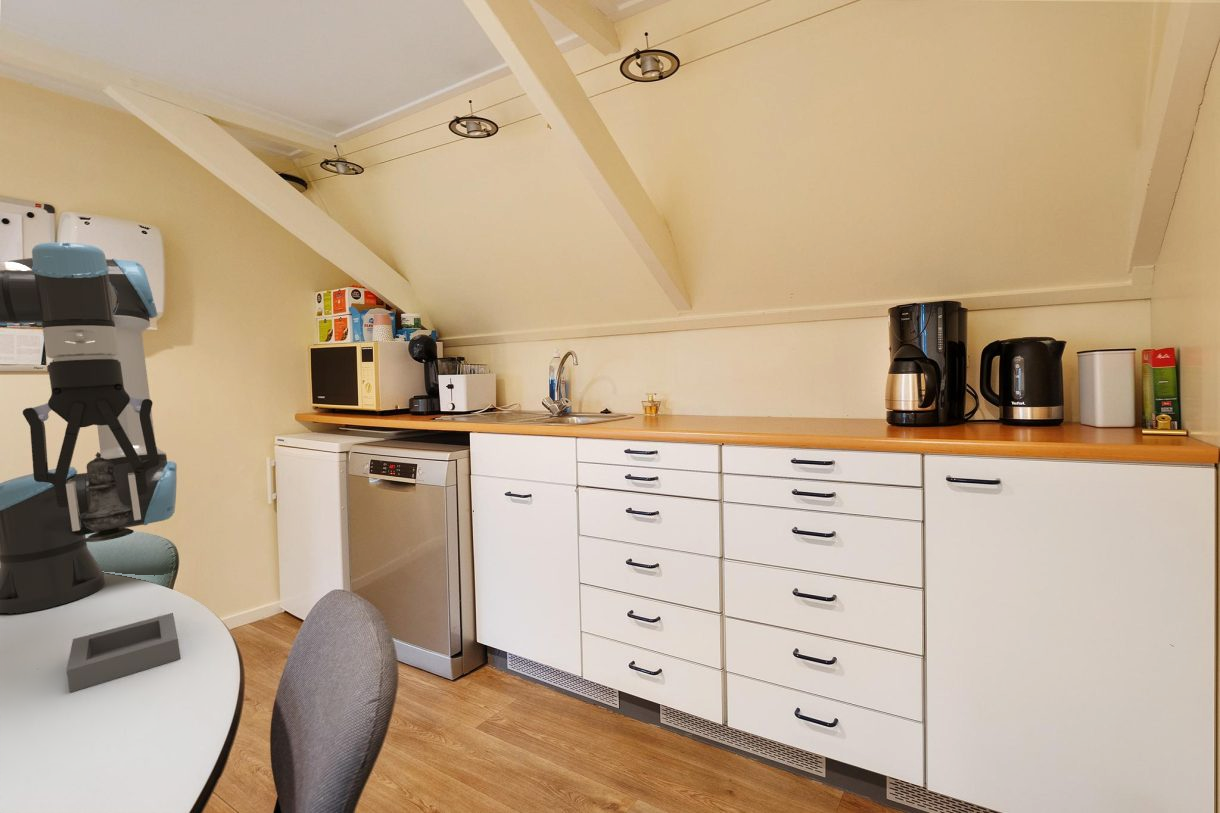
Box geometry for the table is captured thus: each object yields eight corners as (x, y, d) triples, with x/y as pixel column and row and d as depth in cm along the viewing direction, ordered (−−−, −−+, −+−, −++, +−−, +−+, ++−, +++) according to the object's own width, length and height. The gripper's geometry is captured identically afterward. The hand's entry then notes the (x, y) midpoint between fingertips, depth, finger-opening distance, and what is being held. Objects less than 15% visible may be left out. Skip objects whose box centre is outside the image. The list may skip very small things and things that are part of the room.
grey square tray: (76, 658, 85) (73, 639, 84) (175, 631, 92) (173, 612, 92) (69, 692, 76) (66, 670, 75) (180, 658, 83) (177, 638, 83)
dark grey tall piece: (104, 542, 79) (92, 455, 78) (70, 542, 81) (57, 456, 80) (147, 529, 85) (135, 448, 84) (114, 529, 86) (103, 449, 85)
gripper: (-20, 362, 72) (9, 545, 74) (170, 354, 84) (191, 513, 86) (-9, 364, 78) (18, 534, 80) (168, 356, 90) (187, 505, 92)
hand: (107, 523), depth 83 cm, fingers closed on dark grey tall piece, 6 cm apart
